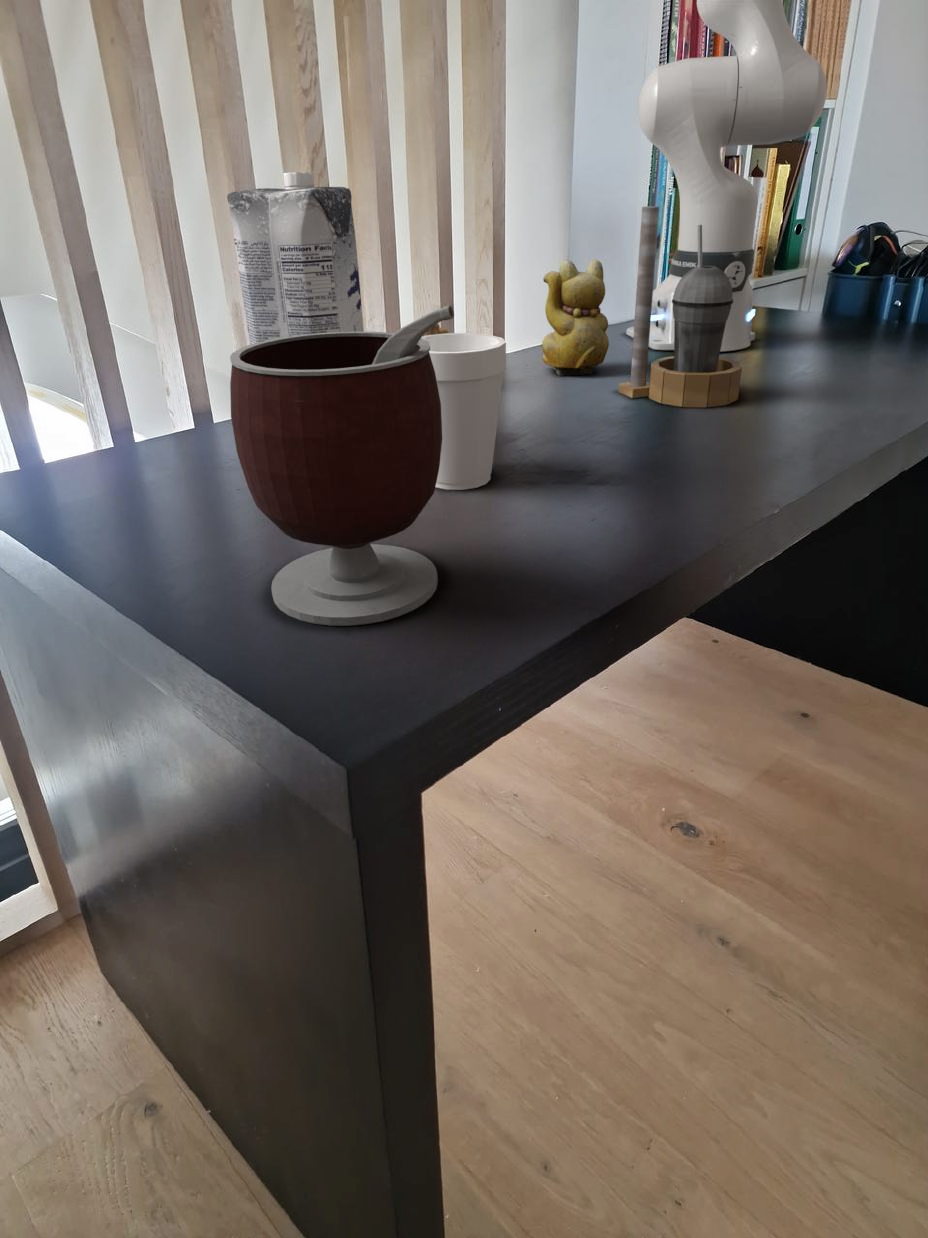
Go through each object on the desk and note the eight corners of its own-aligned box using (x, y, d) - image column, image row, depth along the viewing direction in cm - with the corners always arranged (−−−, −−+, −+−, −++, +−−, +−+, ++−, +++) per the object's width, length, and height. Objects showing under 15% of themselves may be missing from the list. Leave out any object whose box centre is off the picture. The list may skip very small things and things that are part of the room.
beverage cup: (723, 404, 103) (745, 226, 93) (663, 402, 104) (679, 227, 94) (719, 389, 109) (740, 221, 99) (663, 388, 110) (677, 222, 101)
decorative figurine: (594, 363, 125) (599, 255, 118) (619, 374, 118) (627, 260, 111) (535, 369, 122) (536, 259, 115) (557, 381, 116) (560, 265, 108)
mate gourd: (222, 614, 58) (164, 316, 49) (320, 538, 70) (289, 285, 60) (424, 649, 53) (404, 325, 44) (494, 562, 65) (490, 289, 55)
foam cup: (460, 457, 88) (456, 329, 81) (525, 476, 82) (526, 340, 75) (391, 480, 82) (381, 344, 75) (456, 503, 76) (451, 357, 70)
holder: (618, 392, 109) (629, 206, 99) (702, 381, 113) (721, 201, 102) (665, 413, 100) (683, 210, 89) (755, 401, 104) (782, 204, 93)
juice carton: (344, 470, 85) (313, 171, 72) (257, 461, 88) (211, 175, 75) (381, 445, 92) (359, 169, 79) (299, 438, 96) (264, 172, 82)
